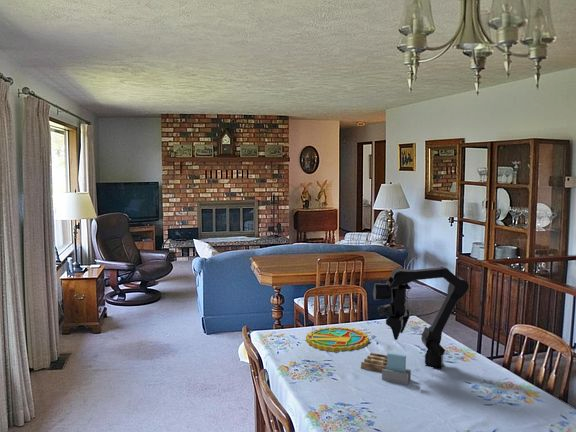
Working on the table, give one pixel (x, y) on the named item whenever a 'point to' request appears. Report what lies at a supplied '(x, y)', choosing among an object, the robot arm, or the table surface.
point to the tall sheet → (396, 362)
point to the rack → (374, 367)
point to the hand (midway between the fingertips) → (398, 336)
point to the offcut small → (377, 362)
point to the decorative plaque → (336, 339)
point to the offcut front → (377, 358)
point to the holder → (396, 376)
